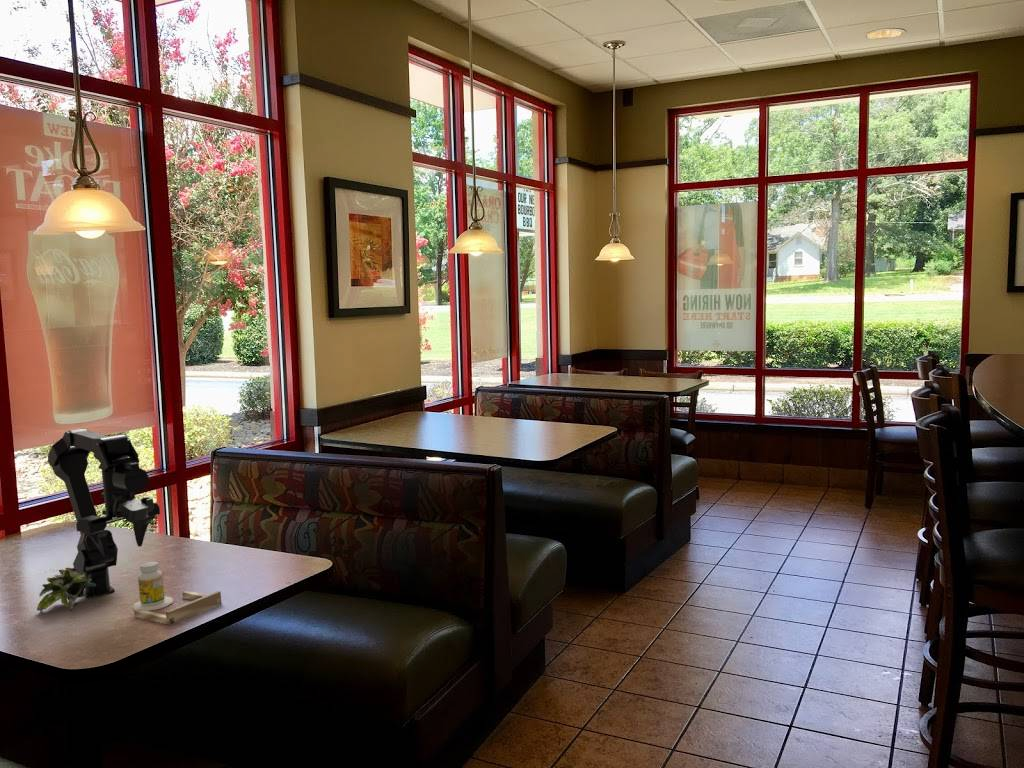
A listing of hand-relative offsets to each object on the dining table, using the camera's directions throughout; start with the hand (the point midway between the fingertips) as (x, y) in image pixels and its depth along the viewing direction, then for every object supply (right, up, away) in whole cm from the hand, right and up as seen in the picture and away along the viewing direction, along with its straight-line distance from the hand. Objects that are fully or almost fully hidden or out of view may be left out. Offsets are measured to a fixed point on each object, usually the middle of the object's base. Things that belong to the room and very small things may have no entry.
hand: (122, 551), depth 199 cm
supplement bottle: (+7, -13, 0) cm, 15 cm away
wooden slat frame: (+15, -13, -5) cm, 21 cm away
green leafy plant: (-14, -14, +1) cm, 20 cm away
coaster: (+8, -13, 0) cm, 15 cm away
